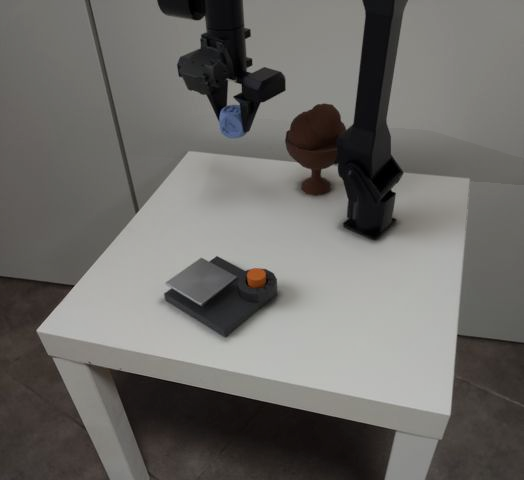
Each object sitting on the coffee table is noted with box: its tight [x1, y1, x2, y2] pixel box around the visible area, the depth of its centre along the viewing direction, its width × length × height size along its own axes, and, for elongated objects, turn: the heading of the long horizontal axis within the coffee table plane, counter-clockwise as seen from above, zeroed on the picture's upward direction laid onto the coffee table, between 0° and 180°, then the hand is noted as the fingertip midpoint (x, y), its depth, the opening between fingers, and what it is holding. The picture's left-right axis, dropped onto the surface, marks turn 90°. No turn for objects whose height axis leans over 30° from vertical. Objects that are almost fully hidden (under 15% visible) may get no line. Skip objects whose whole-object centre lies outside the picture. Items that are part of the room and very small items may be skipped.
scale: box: [163, 255, 278, 338], centre depth 78 cm, size 13×12×3 cm
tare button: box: [247, 267, 266, 288], centre depth 76 cm, size 3×3×2 cm
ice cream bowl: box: [284, 103, 347, 197], centre depth 92 cm, size 11×11×15 cm
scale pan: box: [165, 257, 237, 306], centre depth 77 cm, size 7×7×1 cm
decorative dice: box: [218, 104, 247, 140], centre depth 91 cm, size 4×4×4 cm
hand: (234, 127), depth 92 cm, fingers closed on decorative dice, 5 cm apart
